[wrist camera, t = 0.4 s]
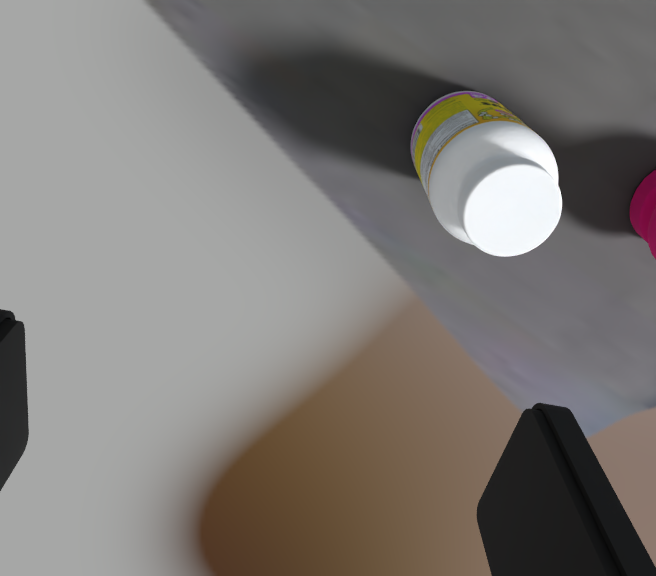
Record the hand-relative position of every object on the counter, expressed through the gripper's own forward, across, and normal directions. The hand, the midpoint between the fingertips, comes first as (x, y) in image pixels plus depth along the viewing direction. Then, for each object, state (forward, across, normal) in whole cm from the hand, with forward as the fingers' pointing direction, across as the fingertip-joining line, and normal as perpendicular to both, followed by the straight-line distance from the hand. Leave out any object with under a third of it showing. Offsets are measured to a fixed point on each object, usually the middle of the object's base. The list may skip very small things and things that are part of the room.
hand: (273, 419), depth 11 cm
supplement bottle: (+31, -10, +1) cm, 32 cm away
